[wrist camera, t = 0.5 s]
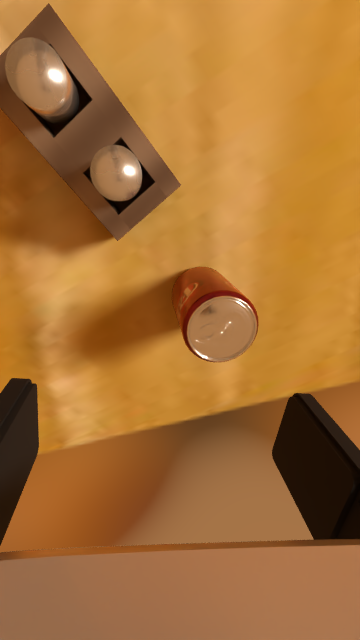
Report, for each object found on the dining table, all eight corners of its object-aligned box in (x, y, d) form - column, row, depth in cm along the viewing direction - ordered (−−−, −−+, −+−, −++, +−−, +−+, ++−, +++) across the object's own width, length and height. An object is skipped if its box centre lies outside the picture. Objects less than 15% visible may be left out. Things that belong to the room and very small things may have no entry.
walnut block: (7, 103, 30) (-24, 81, 24) (66, 42, 28) (48, 3, 23) (121, 234, 35) (117, 241, 30) (174, 187, 34) (180, 185, 28)
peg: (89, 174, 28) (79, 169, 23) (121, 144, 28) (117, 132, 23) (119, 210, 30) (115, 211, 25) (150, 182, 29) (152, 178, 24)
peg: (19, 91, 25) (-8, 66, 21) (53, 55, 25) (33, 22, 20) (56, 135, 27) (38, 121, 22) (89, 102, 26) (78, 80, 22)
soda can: (227, 263, 38) (263, 289, 27) (226, 317, 41) (258, 361, 29) (169, 267, 37) (181, 295, 26) (172, 322, 40) (184, 368, 29)
